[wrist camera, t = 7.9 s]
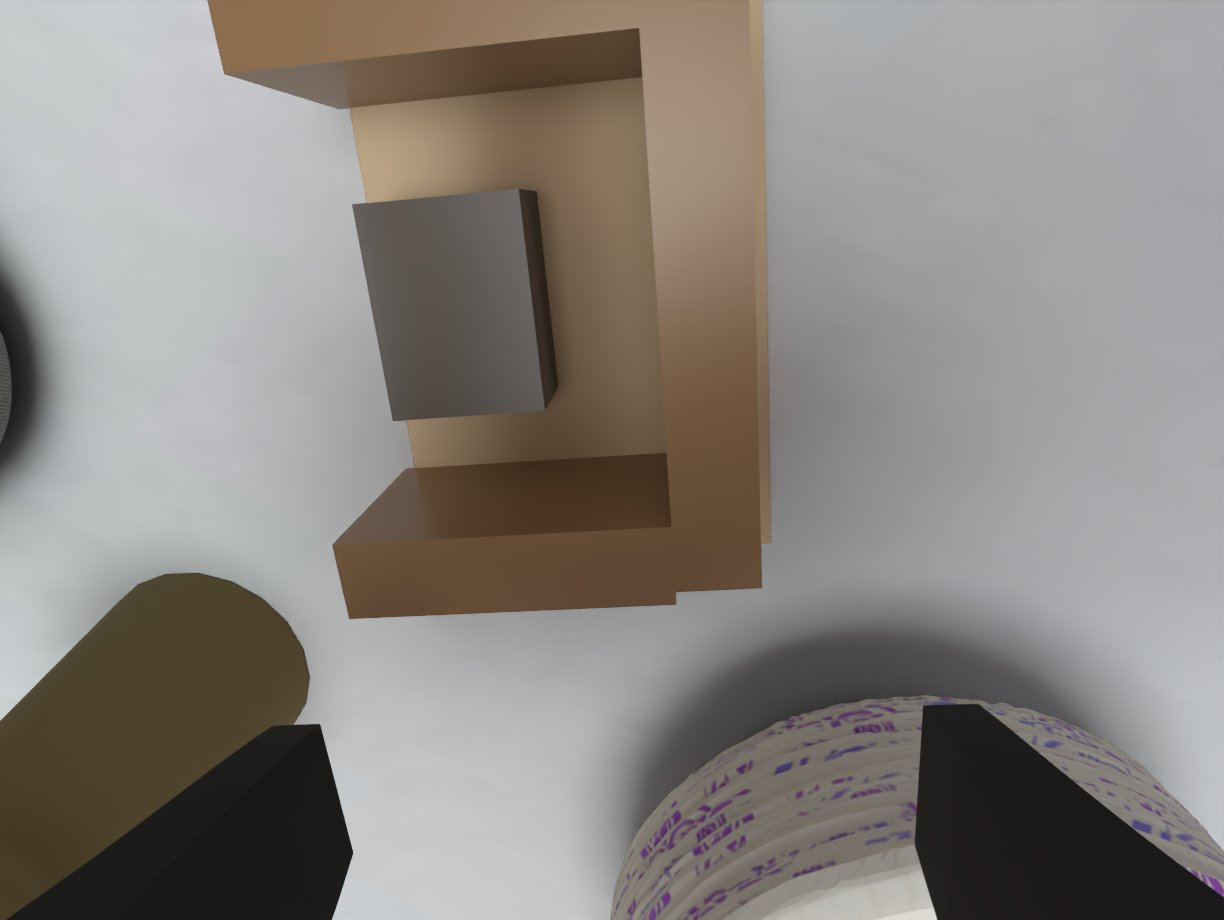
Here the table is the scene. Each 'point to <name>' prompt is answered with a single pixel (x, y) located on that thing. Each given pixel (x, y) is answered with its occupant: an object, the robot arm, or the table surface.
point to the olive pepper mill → (137, 721)
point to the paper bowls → (852, 818)
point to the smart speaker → (4, 387)
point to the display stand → (528, 272)
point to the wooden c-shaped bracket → (685, 288)
